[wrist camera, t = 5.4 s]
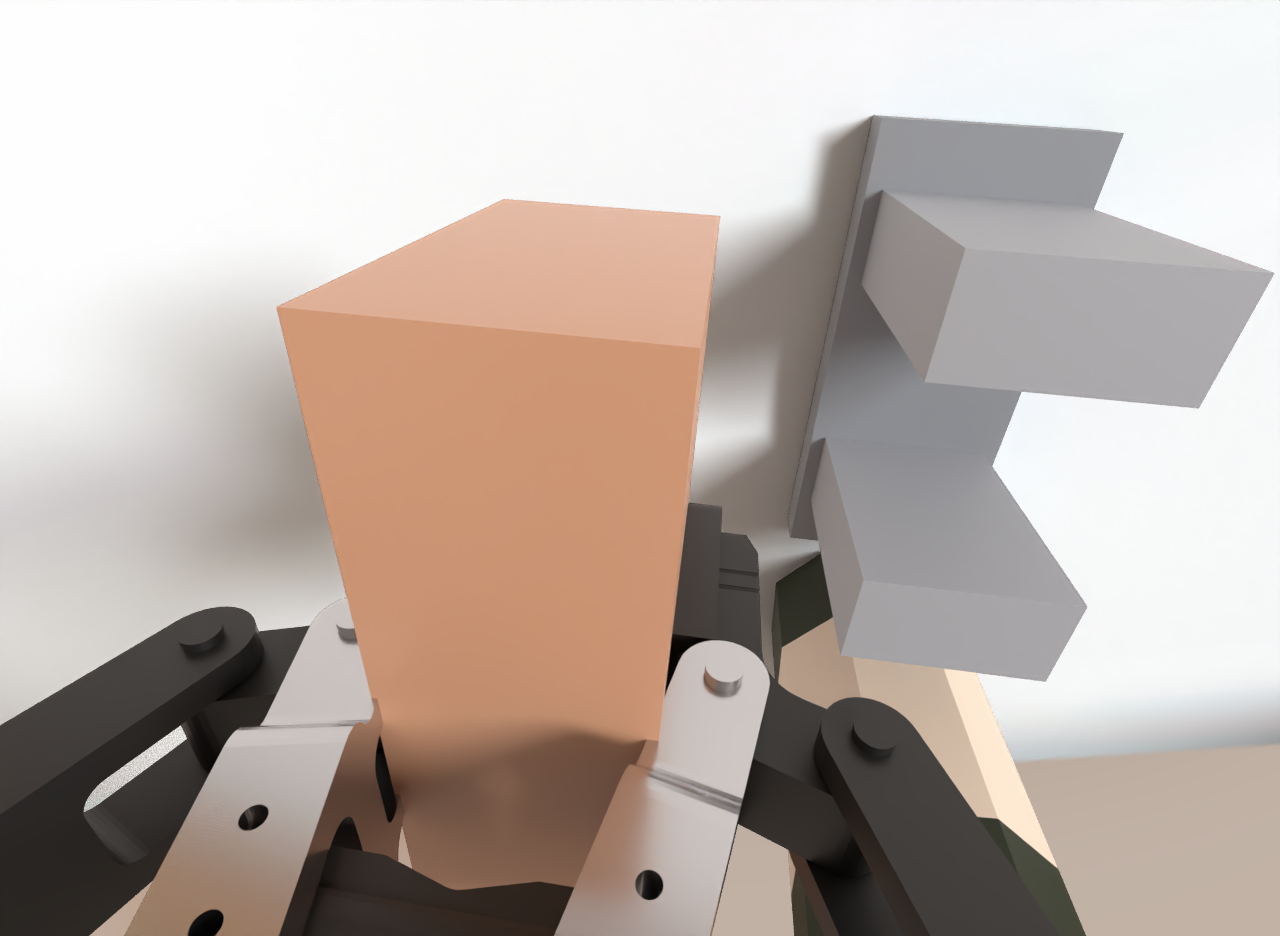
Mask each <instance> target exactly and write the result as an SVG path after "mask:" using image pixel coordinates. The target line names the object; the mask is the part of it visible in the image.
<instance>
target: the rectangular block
mask: <svg viewBox="0 0 1280 936" xmlns="http://www.w3.org/2000/svg"><path fill="white" fill-rule="evenodd" d="M719 222H720V216H713V215H700V214H687V213H674V212H662V211H649V210H636V209H624V208H611V207H598V206H586V205H573V204H560V203H547V202H535V201H522V200H509V199H503V200H501V201H499V202H497V203H495V204H493V205H490V206H488V207H486V208H484V209H482V210H480V211H478V212H476V213H474V214H471V215H469V216H467V217H465V218H463V219H461V220H459V221H457V222H455V223H453V224H450V225H448V226H446V227H444V228H442V229H440V230H438V231H436V232H434V233H431V234H429V235H427V236H425V237H423V238H421V239H419V240H417V241H415V242H412V243H410V244H408V245H406V246H404V247H402V248H400V249H398V250H396V251H394V252H391V253H389V254H387V255H385V256H383V257H381V258H379V259H377V260H375V261H372V262H370V263H368V264H366V265H364V266H362V267H360V268H358V269H356V270H353V271H351V272H349V273H347V274H345V275H343V276H341V277H339V278H337V279H335V280H332V281H330V282H328V283H326V284H324V285H322V286H320V287H318V288H316V289H313V290H311V291H309V292H307V293H305V294H303V295H301V296H299V297H297V298H295V299H292V300H290V301H288V302H286V303H284V304H282V305H280V306H278V307H277V311H278V315H279V319H280V324H281V328H282V332H283V336H284V340H285V344H286V348H287V352H288V357H289V361H290V365H291V369H292V373H293V377H294V381H295V385H296V390H297V394H298V398H299V402H300V406H301V410H302V414H303V418H304V423H305V427H306V431H307V435H308V439H309V443H310V447H311V451H312V456H313V460H314V464H315V468H316V472H317V476H318V480H319V484H320V489H321V493H322V497H323V501H324V505H325V509H326V513H327V517H328V522H329V526H330V530H331V534H332V538H333V542H334V546H335V550H336V555H337V559H338V563H339V567H340V571H341V575H342V579H343V583H344V588H345V592H346V596H347V600H348V604H349V608H350V612H351V617H352V621H353V625H354V629H355V633H356V637H357V641H358V645H359V650H360V654H361V658H362V662H363V666H364V670H365V674H366V678H367V683H368V687H369V691H370V695H371V698H375V699H378V703H379V707H380V711H381V716H382V720H383V726H382V729H381V732H380V736H381V740H382V744H383V749H384V753H385V757H386V761H387V765H388V769H389V773H390V777H391V782H392V786H393V790H394V794H398V795H400V796H401V801H402V805H403V809H404V813H405V815H404V819H403V823H402V827H403V831H404V835H405V839H406V843H407V848H408V852H409V856H410V860H411V864H412V868H413V870H415V871H417V872H419V873H421V874H422V875H424V876H426V877H428V878H430V879H432V880H434V881H436V882H438V883H440V884H441V885H443V886H445V887H448V888H450V889H455V890H464V889H474V888H483V887H492V886H501V885H510V884H520V883H529V882H538V881H540V882H546V883H552V884H558V885H563V886H569V887H575V885H576V883H577V881H578V878H579V876H580V873H581V871H582V869H583V866H584V864H585V862H586V859H587V857H588V855H589V852H590V850H591V848H592V845H593V843H594V841H595V838H596V836H597V833H598V831H599V829H600V826H601V824H602V822H603V819H604V817H605V815H606V812H607V810H608V808H609V805H610V803H611V801H612V798H613V796H614V793H615V791H616V789H617V786H618V784H619V782H620V780H621V778H622V776H623V774H624V772H625V770H626V768H627V767H628V766H629V765H630V764H634V765H635V764H636V763H637V761H638V760H639V757H640V755H641V753H642V750H643V748H644V745H645V743H646V741H647V739H648V740H655V741H659V736H660V728H661V720H662V712H663V704H664V697H665V694H666V686H667V677H668V668H669V658H670V649H671V640H672V631H673V623H674V615H675V607H676V598H677V590H678V582H679V574H680V566H681V558H682V550H683V542H684V533H685V525H686V517H687V509H688V503H689V494H690V485H691V476H692V467H693V458H694V449H695V440H696V431H697V422H698V413H699V404H700V394H701V385H702V376H703V367H704V358H705V349H706V340H707V331H708V322H709V313H710V304H711V295H712V286H713V277H714V268H715V259H716V249H717V240H718V231H719Z"/></svg>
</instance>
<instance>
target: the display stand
mask: <svg viewBox="0 0 1280 936" xmlns="http://www.w3.org/2000/svg"><path fill="white" fill-rule="evenodd" d="M1123 134H1124V133H1117V132H1109V131H1102V130H1089V129H1074V128H1058V127H1043V126H1028V125H1012V124H997V123H982V122H967V121H951V120H936V119H921V118H905V117H890V116H875V115H873V118H872V122H871V127H870V132H869V136H868V141H867V146H866V151H865V155H864V160H863V165H862V169H861V174H860V179H859V183H858V188H857V193H856V198H855V202H854V207H853V212H852V216H851V221H850V226H849V231H848V235H847V240H846V245H845V249H844V254H843V259H842V264H841V268H840V273H839V278H838V282H837V287H836V292H835V296H834V301H833V306H832V311H831V315H830V320H829V325H828V329H827V334H826V339H825V344H824V348H823V353H822V358H821V362H820V367H819V372H818V376H817V381H816V386H815V391H814V395H813V400H812V405H811V409H810V414H809V419H808V424H807V428H806V433H805V438H804V442H803V447H802V452H801V456H800V461H799V466H798V471H797V475H796V480H795V485H794V489H793V494H792V499H791V504H790V508H789V513H788V524H789V532H790V537H792V538H801V539H810V540H818V541H819V546H820V551H821V557H822V562H823V567H824V572H825V578H826V583H827V588H828V593H829V598H830V604H831V609H832V614H833V619H834V624H835V630H836V635H837V640H838V645H839V651H840V655H841V656H849V657H857V658H865V659H873V660H880V661H888V662H896V663H904V664H912V665H920V666H927V667H935V668H943V669H951V670H959V671H967V672H974V673H982V674H990V675H998V676H1006V677H1014V678H1021V679H1029V680H1037V681H1045V682H1046V680H1047V678H1048V676H1049V675H1050V673H1051V671H1052V669H1053V667H1054V666H1055V664H1056V662H1057V660H1058V659H1059V657H1060V655H1061V653H1062V651H1063V650H1064V648H1065V646H1066V644H1067V642H1068V641H1069V639H1070V637H1071V635H1072V634H1073V632H1074V630H1075V628H1076V626H1077V625H1078V623H1079V621H1080V619H1081V618H1082V616H1083V614H1084V612H1085V610H1086V609H1087V605H1086V604H1085V602H1084V601H1083V599H1082V598H1081V596H1080V595H1079V593H1078V592H1077V590H1076V589H1075V588H1074V586H1073V585H1072V583H1071V582H1070V580H1069V579H1068V577H1067V576H1066V574H1065V573H1064V571H1063V570H1062V568H1061V567H1060V565H1059V564H1058V563H1057V561H1056V560H1055V558H1054V557H1053V555H1052V554H1051V552H1050V551H1049V549H1048V548H1047V546H1046V545H1045V543H1044V542H1043V541H1042V539H1041V538H1040V536H1039V535H1038V533H1037V532H1036V530H1035V529H1034V527H1033V526H1032V524H1031V523H1030V521H1029V520H1028V518H1027V517H1026V516H1025V514H1024V513H1023V511H1022V510H1021V508H1020V507H1019V505H1018V504H1017V502H1016V501H1015V499H1014V498H1013V496H1012V495H1011V493H1010V492H1009V491H1008V489H1007V488H1006V486H1005V485H1004V483H1003V482H1002V480H1001V479H1000V477H999V476H998V474H997V473H996V471H995V470H994V469H993V467H992V465H993V463H994V460H995V458H996V455H997V452H998V450H999V447H1000V445H1001V442H1002V440H1003V437H1004V435H1005V432H1006V430H1007V427H1008V425H1009V422H1010V420H1011V417H1012V415H1013V412H1014V409H1015V407H1016V404H1017V402H1018V399H1019V397H1020V394H1021V392H1033V393H1043V394H1054V395H1064V396H1075V397H1085V398H1096V399H1106V400H1117V401H1127V402H1138V403H1148V404H1159V405H1169V406H1179V407H1190V408H1199V407H1200V405H1201V403H1202V402H1203V400H1204V398H1205V396H1206V395H1207V393H1208V391H1209V389H1210V387H1211V386H1212V384H1213V382H1214V380H1215V378H1216V377H1217V375H1218V373H1219V371H1220V370H1221V368H1222V366H1223V364H1224V362H1225V361H1226V359H1227V357H1228V355H1229V353H1230V352H1231V350H1232V348H1233V346H1234V345H1235V343H1236V341H1237V339H1238V337H1239V336H1240V334H1241V332H1242V330H1243V329H1244V327H1245V325H1246V323H1247V321H1248V320H1249V318H1250V316H1251V314H1252V312H1253V311H1254V309H1255V307H1256V305H1257V304H1258V302H1259V300H1260V298H1261V296H1262V295H1263V293H1264V291H1265V289H1266V287H1267V286H1268V284H1269V282H1270V280H1271V279H1272V277H1273V275H1274V273H1273V272H1270V271H1267V270H1265V269H1262V268H1259V267H1256V266H1253V265H1250V264H1247V263H1245V262H1242V261H1239V260H1236V259H1233V258H1230V257H1227V256H1225V255H1222V254H1219V253H1216V252H1213V251H1210V250H1208V249H1205V248H1202V247H1199V246H1196V245H1193V244H1190V243H1188V242H1185V241H1182V240H1179V239H1176V238H1173V237H1170V236H1168V235H1165V234H1162V233H1159V232H1156V231H1153V230H1151V229H1148V228H1145V227H1142V226H1139V225H1136V224H1133V223H1131V222H1128V221H1125V220H1122V219H1119V218H1116V217H1113V216H1111V215H1108V214H1105V213H1102V212H1099V211H1096V210H1094V207H1095V205H1096V202H1097V200H1098V197H1099V195H1100V192H1101V190H1102V187H1103V185H1104V182H1105V180H1106V177H1107V174H1108V172H1109V169H1110V167H1111V164H1112V162H1113V159H1114V157H1115V154H1116V152H1117V149H1118V147H1119V144H1120V142H1121V139H1122V137H1123Z"/></svg>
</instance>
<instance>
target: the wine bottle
mask: <svg viewBox="0 0 1280 936" xmlns="http://www.w3.org/2000/svg"><path fill="white" fill-rule="evenodd" d="M772 644H773V657H774V671H775V680H776V681H777V682H778V683H779V684H780V685H781V686H782V687H783V688H785V689H786V690H787V691H789V692H791V693H792V694H794V695H796V696H798V697H800V698H802V699H804V700H807V701H809V702H811V703H814V704H816V705H818V706H821V707H823V708H826V709H828V707H829V706H831V705H832V704H833V703H835V702H837V701H839V700H841V699H845V698H850V697H863V698H868V699H873V700H876V701H879V702H882V703H884V704H886V705H888V706H890V707H892V708H893V709H895V710H897V711H898V712H899V713H901V714H902V715H903V716H904V717H906V718H907V719H908V720H909V721H910V722H911V723H912V725H913V726H914V727H915V728H916V730H917V731H918V733H919V734H920V735H921V737H922V738H923V740H924V741H925V743H926V744H927V745H928V747H929V748H930V750H931V751H932V753H933V754H934V755H935V757H936V758H937V760H938V761H939V763H940V764H941V765H942V767H943V768H944V770H945V771H946V773H947V774H948V775H949V777H950V778H951V780H952V781H953V783H954V784H955V785H956V787H957V788H958V790H959V791H960V793H961V794H962V795H963V797H964V798H965V800H966V801H967V803H968V804H969V806H970V807H971V808H972V810H973V811H974V813H975V814H976V816H977V817H978V818H979V820H980V821H981V823H982V824H983V826H984V827H985V828H986V830H987V831H988V833H989V834H990V836H991V837H992V838H993V840H994V841H995V843H996V844H997V846H998V847H999V848H1000V850H1001V851H1002V853H1003V854H1004V856H1005V857H1006V858H1007V860H1008V861H1009V863H1010V864H1011V866H1012V867H1013V868H1014V870H1015V871H1016V873H1017V874H1018V876H1019V877H1020V878H1021V880H1022V881H1023V883H1024V884H1025V886H1026V887H1027V888H1028V890H1029V891H1030V893H1031V894H1032V896H1033V897H1034V899H1035V900H1036V901H1037V903H1038V904H1039V906H1040V907H1041V909H1042V910H1043V911H1044V913H1045V914H1046V916H1047V917H1048V919H1049V920H1050V921H1051V923H1052V924H1053V926H1054V927H1055V929H1056V930H1057V931H1058V933H1059V934H1060V936H1086V935H1085V932H1084V930H1083V928H1082V925H1081V923H1080V920H1079V918H1078V915H1077V913H1076V911H1075V908H1074V906H1073V904H1072V901H1071V899H1070V896H1069V894H1068V891H1067V889H1066V887H1065V884H1064V882H1063V879H1062V877H1061V875H1060V872H1059V870H1058V867H1057V865H1056V863H1055V860H1054V858H1053V855H1052V853H1051V851H1050V848H1049V846H1048V843H1047V841H1046V839H1045V836H1044V834H1043V831H1042V829H1041V827H1040V824H1039V822H1038V819H1037V817H1036V815H1035V812H1034V810H1033V808H1032V805H1031V803H1030V800H1029V798H1028V795H1027V793H1026V791H1025V788H1024V786H1023V784H1022V781H1021V779H1020V776H1019V774H1018V771H1017V769H1016V767H1015V764H1014V762H1013V759H1012V757H1011V755H1010V752H1009V750H1008V747H1007V745H1006V743H1005V740H1004V738H1003V735H1002V733H1001V731H1000V728H999V726H998V723H997V721H996V719H995V716H994V714H993V711H992V709H991V707H990V704H989V702H988V699H987V697H986V695H985V692H984V690H983V687H982V685H981V682H980V680H979V678H978V675H977V673H974V672H967V671H959V670H951V669H943V668H935V667H927V666H920V665H912V664H904V663H896V662H888V661H880V660H873V659H865V658H857V657H849V656H841V655H840V651H839V645H838V640H837V635H836V630H835V624H834V619H833V614H832V609H831V604H830V598H829V593H828V588H827V583H826V578H825V572H824V567H823V562H822V557H821V554H820V555H818V556H817V557H815V558H814V559H812V560H811V561H809V562H808V563H806V564H805V565H803V566H802V567H800V568H799V569H797V570H796V571H794V572H792V573H791V574H789V575H788V576H786V577H785V578H783V579H782V580H780V581H779V582H777V583H776V590H775V600H774V611H773V621H772ZM788 857H789V870H790V884H791V897H792V911H793V923H794V924H793V925H794V936H824V935H823V932H822V930H821V928H820V925H819V923H818V921H817V918H816V916H815V913H814V911H813V909H812V906H811V904H810V902H809V899H808V897H807V895H806V892H805V890H804V888H803V885H802V883H801V881H800V878H799V876H798V874H797V871H796V869H795V866H794V864H793V862H792V859H791V857H790V854H789V850H788Z"/></svg>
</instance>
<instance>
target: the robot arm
mask: <svg viewBox="0 0 1280 936" xmlns="http://www.w3.org/2000/svg"><path fill="white" fill-rule="evenodd" d="M721 519H722V507H720V506H711V505H703V504H694V503H688V509H687V517H686V525H685V533H684V542H683V550H682V558H681V566H680V574H679V582H678V590H677V598H676V607H675V615H674V623H673V631H672V640H671V649H670V658H669V668H668V677H667V686H666V694H665V697H664V704H663V712H662V720H661V728H660V736H659V741H655V740H648V739H647V741H646V743H645V745H644V748H643V750H642V753H641V755H640V757H639V760H638V761H637V763H636V764H635V765H634V764H630V765H629V766H628V767H627V768H626V770H625V772H624V774H623V776H622V778H621V780H620V782H619V784H618V786H617V789H616V791H615V793H614V796H613V798H612V801H611V803H610V805H609V808H608V810H607V812H606V815H605V817H604V819H603V822H602V824H601V826H600V829H599V831H598V833H597V836H596V838H595V841H594V843H593V845H592V848H591V850H590V852H589V855H588V857H587V859H586V862H585V864H584V866H583V869H582V871H581V873H580V876H579V878H578V881H577V883H576V885H575V887H569V886H563V885H558V884H552V883H546V882H540V881H538V882H529V883H520V884H510V885H501V886H492V887H483V888H474V889H464V890H455V889H450V888H448V887H445V886H443V885H441V884H440V883H438V882H436V881H434V880H432V879H430V878H428V877H426V876H424V875H422V874H421V873H419V872H417V871H415V870H413V869H411V868H409V867H407V866H405V865H403V864H401V863H400V862H398V847H399V838H400V832H401V827H402V823H403V819H404V815H405V813H404V809H403V805H402V801H401V796H400V795H398V794H394V790H393V786H392V782H391V777H390V773H389V769H388V765H387V761H386V757H385V753H384V749H383V744H382V740H381V736H380V732H381V729H382V726H383V720H382V716H381V711H380V707H379V703H378V699H375V698H371V695H370V691H369V687H368V683H367V678H366V674H365V670H364V666H363V662H362V658H361V654H360V650H359V645H358V641H357V637H356V633H355V629H354V625H353V621H352V617H351V612H350V608H349V604H348V600H347V597H346V598H343V599H341V600H338V601H336V602H334V603H332V604H330V605H329V606H328V607H326V608H325V609H323V610H322V611H321V612H320V613H319V614H318V615H317V616H316V617H315V618H314V620H313V622H312V623H311V625H310V626H303V627H295V628H286V629H277V630H268V631H258V628H257V626H256V623H255V620H254V618H253V616H252V615H251V614H250V613H249V612H247V611H245V610H243V609H240V608H236V607H216V608H210V609H205V610H202V611H198V612H195V613H193V614H190V615H188V616H186V617H184V618H182V619H180V620H178V621H176V622H174V623H173V624H171V625H169V626H168V627H166V628H164V629H163V630H161V631H159V632H157V633H156V634H154V635H152V636H151V637H149V638H147V639H146V640H144V641H142V642H141V643H139V644H137V645H135V646H134V647H132V648H130V649H129V650H127V651H125V652H124V653H122V654H120V655H119V656H117V657H115V658H114V659H112V660H110V661H108V662H107V663H105V664H103V665H102V666H100V667H98V668H97V669H95V670H93V671H92V672H90V673H88V674H86V675H85V676H83V677H81V678H80V679H78V680H76V681H75V682H73V683H71V684H70V685H68V686H66V687H64V688H63V689H61V690H59V691H58V692H56V693H54V694H53V695H51V696H49V697H48V698H46V699H44V700H43V701H41V702H39V703H37V704H36V705H34V706H32V707H31V708H29V709H27V710H26V711H24V712H22V713H21V714H19V715H17V716H15V717H14V718H12V719H10V720H9V721H7V722H5V723H4V724H2V725H0V936H89V935H90V934H92V933H93V932H94V931H95V930H96V929H97V928H98V927H100V926H101V925H102V924H103V923H104V922H105V921H107V920H108V919H109V918H110V917H111V916H112V915H113V914H115V913H116V912H117V911H118V910H119V909H120V908H122V907H123V906H124V905H125V904H126V903H127V902H128V901H130V900H131V899H132V898H133V897H134V896H135V895H137V894H138V893H139V892H140V891H141V890H142V889H144V888H145V887H146V886H147V885H148V884H149V883H150V882H152V881H153V882H152V884H151V886H150V888H149V889H148V891H147V893H146V895H145V897H144V899H143V901H142V903H141V905H140V907H139V909H138V910H137V912H136V914H135V916H134V918H133V920H132V922H131V924H130V926H129V928H128V929H127V931H126V933H125V935H124V936H712V931H713V927H714V923H715V919H716V914H717V910H718V906H719V902H720V897H721V893H722V889H723V885H724V881H725V876H726V872H727V868H728V864H729V860H730V855H731V851H732V847H733V843H734V838H735V834H736V830H737V826H738V824H739V825H741V826H743V827H745V828H747V829H749V830H751V831H753V832H755V833H757V834H759V835H761V836H763V837H765V838H767V839H769V840H771V841H772V842H774V843H777V844H778V845H780V846H782V847H784V848H786V849H788V850H789V854H790V857H791V859H792V862H793V864H794V866H795V869H796V871H797V874H798V876H799V878H800V881H801V883H802V885H803V888H804V890H805V892H806V895H807V897H808V899H809V902H810V904H811V906H812V909H813V911H814V913H815V916H816V918H817V921H818V923H819V925H820V928H821V930H822V932H823V935H824V936H1060V934H1059V933H1058V931H1057V930H1056V929H1055V927H1054V926H1053V924H1052V923H1051V921H1050V920H1049V919H1048V917H1047V916H1046V914H1045V913H1044V911H1043V910H1042V909H1041V907H1040V906H1039V904H1038V903H1037V901H1036V900H1035V899H1034V897H1033V896H1032V894H1031V893H1030V891H1029V890H1028V888H1027V887H1026V886H1025V884H1024V883H1023V881H1022V880H1021V878H1020V877H1019V876H1018V874H1017V873H1016V871H1015V870H1014V868H1013V867H1012V866H1011V864H1010V863H1009V861H1008V860H1007V858H1006V857H1005V856H1004V854H1003V853H1002V851H1001V850H1000V848H999V847H998V846H997V844H996V843H995V841H994V840H993V838H992V837H991V836H990V834H989V833H988V831H987V830H986V828H985V827H984V826H983V824H982V823H981V821H980V820H979V818H978V817H977V816H976V814H975V813H974V811H973V810H972V808H971V807H970V806H969V804H968V803H967V801H966V800H965V798H964V797H963V795H962V794H961V793H960V791H959V790H958V788H957V787H956V785H955V784H954V783H953V781H952V780H951V778H950V777H949V775H948V774H947V773H946V771H945V770H944V768H943V767H942V765H941V764H940V763H939V761H938V760H937V758H936V757H935V755H934V754H933V753H932V751H931V750H930V748H929V747H928V745H927V744H926V743H925V741H924V740H923V738H922V737H921V735H920V734H919V733H918V731H917V730H916V728H915V727H914V726H913V725H912V723H911V722H910V721H909V720H908V719H907V718H906V717H904V716H903V715H902V714H901V713H899V712H898V711H897V710H895V709H893V708H892V707H890V706H888V705H886V704H884V703H882V702H879V701H876V700H873V699H868V698H863V697H850V698H845V699H841V700H839V701H837V702H835V703H833V704H832V705H831V706H829V707H828V709H826V708H823V707H821V706H818V705H816V704H814V703H811V702H809V701H807V700H804V699H802V698H800V697H798V696H796V695H794V694H792V693H791V692H789V691H787V690H786V689H785V688H783V687H782V686H781V685H780V684H779V683H778V682H777V681H776V680H775V679H774V678H773V677H772V676H771V674H770V673H769V672H768V670H767V668H766V666H765V664H764V661H763V657H762V645H761V619H760V594H759V577H758V574H759V568H758V553H757V551H756V550H755V548H754V547H753V545H752V544H751V542H750V540H749V539H748V537H747V536H746V535H738V534H730V533H722V532H721ZM180 725H181V727H182V729H183V731H184V733H185V735H186V737H187V740H185V741H184V742H183V743H181V744H180V745H178V746H177V747H176V748H174V749H173V750H172V751H170V752H169V753H168V754H166V755H165V756H164V757H162V758H161V759H159V760H158V761H157V762H155V763H154V764H153V765H151V766H150V767H149V768H147V769H146V770H144V771H143V772H142V773H140V774H139V775H138V776H136V777H135V778H134V779H132V780H131V781H130V782H128V783H127V784H125V785H124V786H123V787H121V788H120V789H119V790H117V791H116V792H115V793H113V794H112V795H111V796H109V797H108V798H106V799H105V800H104V801H102V802H101V803H100V804H98V805H97V806H95V807H94V808H92V809H90V810H88V811H86V812H83V811H84V806H85V803H86V801H87V799H88V797H89V795H90V794H91V793H92V791H93V790H94V789H95V788H96V787H97V786H98V785H99V784H100V783H101V782H102V781H104V780H105V779H106V778H107V777H109V776H110V775H112V774H113V773H114V772H116V771H117V770H119V769H120V768H121V767H123V766H124V765H126V764H127V763H128V762H130V761H131V760H133V759H134V758H135V757H137V756H138V755H140V754H141V753H142V752H144V751H145V750H147V749H148V748H149V747H151V746H152V745H154V744H155V743H156V742H158V741H159V740H161V739H162V738H163V737H165V736H166V735H168V734H169V733H170V732H172V731H173V730H175V729H176V728H177V727H179V726H180Z"/></svg>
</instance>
